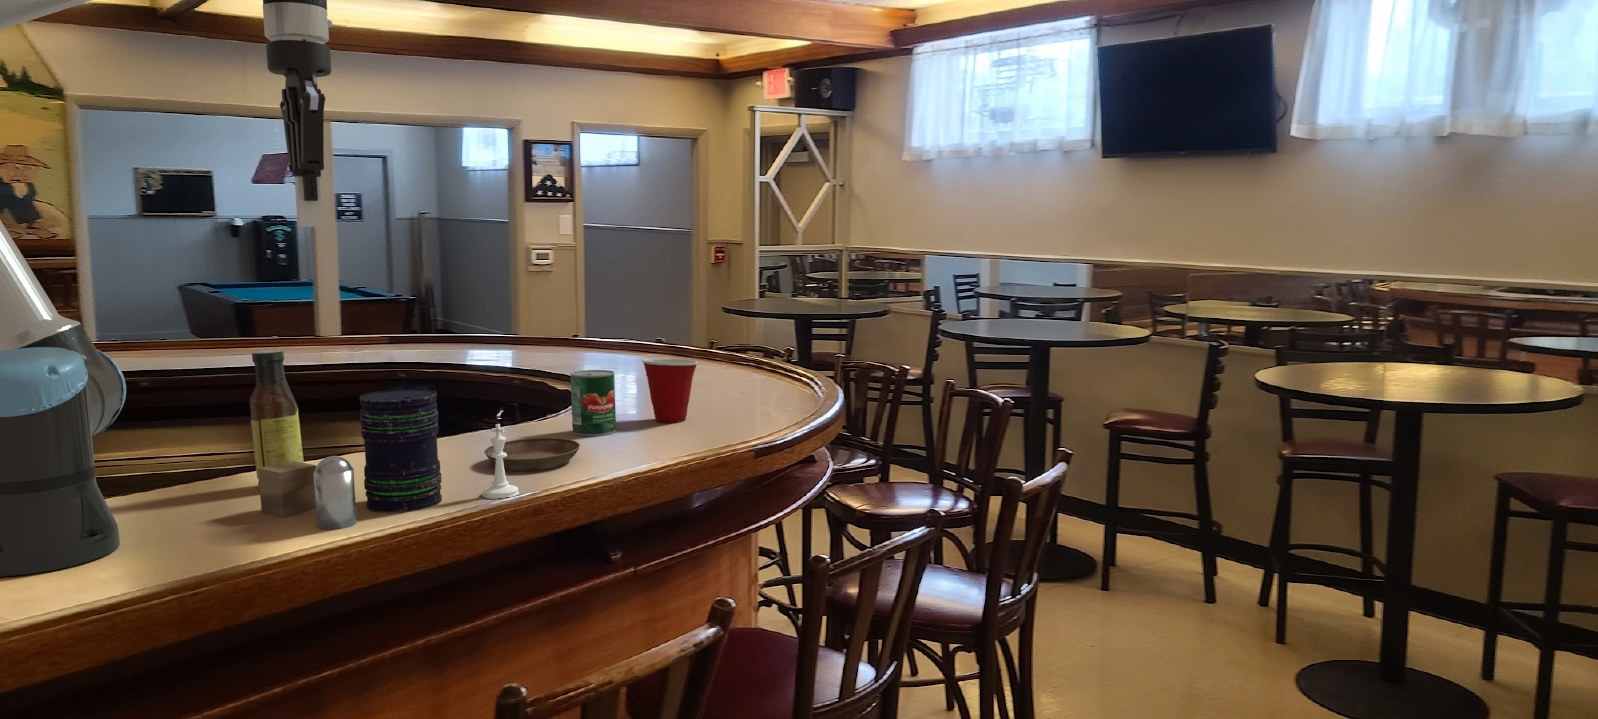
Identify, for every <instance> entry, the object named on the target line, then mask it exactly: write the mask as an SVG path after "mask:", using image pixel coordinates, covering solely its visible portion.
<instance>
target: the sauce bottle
mask: <svg viewBox="0 0 1598 719" xmlns="http://www.w3.org/2000/svg"><path fill="white" fill-rule="evenodd" d="M251 359H252V362H253V364H254V371H255V372H254V373H255V378H254V379H255V386H254V389H253V392H252V393H251V395H250V397H249V410H250V426H251V435H252V445H253V452H254V454H253V455H254V462H255V470H256V472H255V473H256V478H257V479H258V480H259V470H258V468H263V467H268V466H272V465H277V464H282V463H287V462H292V461H296V462H302V463H305V461H304V454H303V441H302V434H301V424H300V418H299V407H298V403H297V401H296V399H295V397H294V394H293V392H292V390H291V388H290V385H289V383H288V381H287V379H286V376H285V365H284V361H285V354H284V351H283V350H282V349H268V350H267V349H265V350H258V351H254V352H252V353H251ZM257 484H258V487H259V488H260V484H259V481H258V483H257Z"/></svg>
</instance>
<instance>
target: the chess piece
mask: <svg viewBox="0 0 1598 719" xmlns="http://www.w3.org/2000/svg"><path fill="white" fill-rule="evenodd" d="M491 432H492V433H495V436H493V437H491V438H490V442H491V444H492V446H493V447H494V449H495V453H493V454H492V456H491V457H493V458H496V465H495V464H494V465H495V466H494V467H495V468H494V476H493V477H494V478H493V482H492V483H491V484H492V485H490V486H488V487H485V488H484V489H483V491H482V497H483V498H486V499H490V500H491V499H492V500H499V499H498V498H503V499H506V498H505V497H510V498H513V496H514V497H516V496H518V495H519V494H520V492H519V487H518V486H516V485H513V484H509V483H510V482H509V481H507V476H506V472H505V470H506V469H504V463H503V457H506V456H507V454H506V453H504V452H503V448H504V444H505V442H507V441H506V440H507V438H506V436H502V435H501V433H505V428H501V424H500V423H497V424H495V428H493V427H492V428H491Z"/></svg>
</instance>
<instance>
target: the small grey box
mask: <svg viewBox="0 0 1598 719" xmlns="http://www.w3.org/2000/svg"><path fill="white" fill-rule="evenodd" d="M316 466H317V465H316V464H311V463H306V462H304V463H302V462H296V461H292V462H287V463H282V464H277V465H272V466H268V467H263V468H258V470H259V479H258V482H259V483H258V484H260V487H259V493H260V494H259V495H260V498H259V499H260V506H261V507H260V508H261V509H260V510H261V514H266V515H269V516H270V515H271V516H274V517H279V518H283V519H284V518H288V517H292V516H295V515H296V516H297V515H301V514H303V513H307V512H313V511H316V503H315V488H314V473H313V472H314V471H315V469H316Z"/></svg>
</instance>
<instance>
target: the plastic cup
mask: <svg viewBox="0 0 1598 719" xmlns="http://www.w3.org/2000/svg"><path fill="white" fill-rule="evenodd" d="M641 362H642V363H643V366H644V370H645V373H646V374H645V375H646V379H647V384H648V389H649V394H650V400H651V405H652V409H653V414H654V418H655V421H656V422H658V423H662V424H664V423H665V424H674V423H681V422H684V421H686V420H687V419H686V418H687V416H688V415H687V414H688V407H689V403H690V397H691V391H692V384H693V378H694V375H695V371H696V367H697V365H698V364H699V361H698V360H691V359H682V358H681V359H680V358H644V359H641Z"/></svg>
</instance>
